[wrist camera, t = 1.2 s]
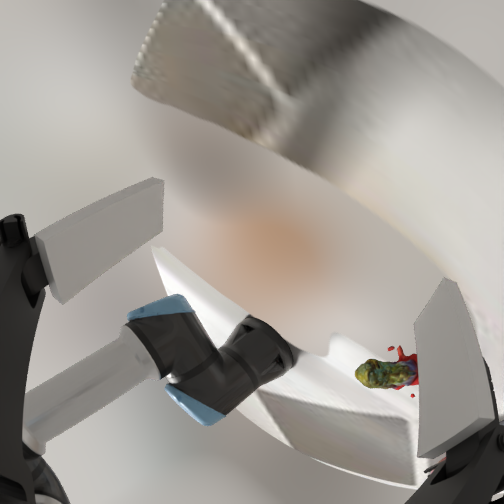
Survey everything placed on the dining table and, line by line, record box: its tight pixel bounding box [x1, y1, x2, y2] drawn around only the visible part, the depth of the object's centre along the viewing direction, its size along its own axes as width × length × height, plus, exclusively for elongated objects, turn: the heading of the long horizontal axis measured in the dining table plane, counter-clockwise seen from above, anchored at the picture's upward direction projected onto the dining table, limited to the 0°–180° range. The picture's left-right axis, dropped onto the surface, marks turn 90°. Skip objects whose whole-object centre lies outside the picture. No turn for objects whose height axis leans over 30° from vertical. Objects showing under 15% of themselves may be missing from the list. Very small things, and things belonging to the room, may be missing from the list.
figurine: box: [355, 346, 419, 398], centre depth 29 cm, size 8×10×12 cm
